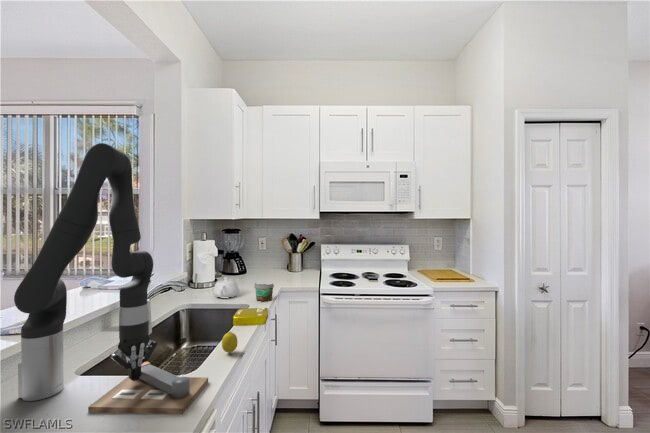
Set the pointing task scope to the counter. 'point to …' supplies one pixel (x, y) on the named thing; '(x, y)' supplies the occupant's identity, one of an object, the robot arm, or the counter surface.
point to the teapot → (226, 288)
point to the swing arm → (165, 381)
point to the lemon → (229, 342)
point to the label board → (145, 398)
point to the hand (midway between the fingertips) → (134, 379)
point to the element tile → (250, 316)
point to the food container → (263, 292)
